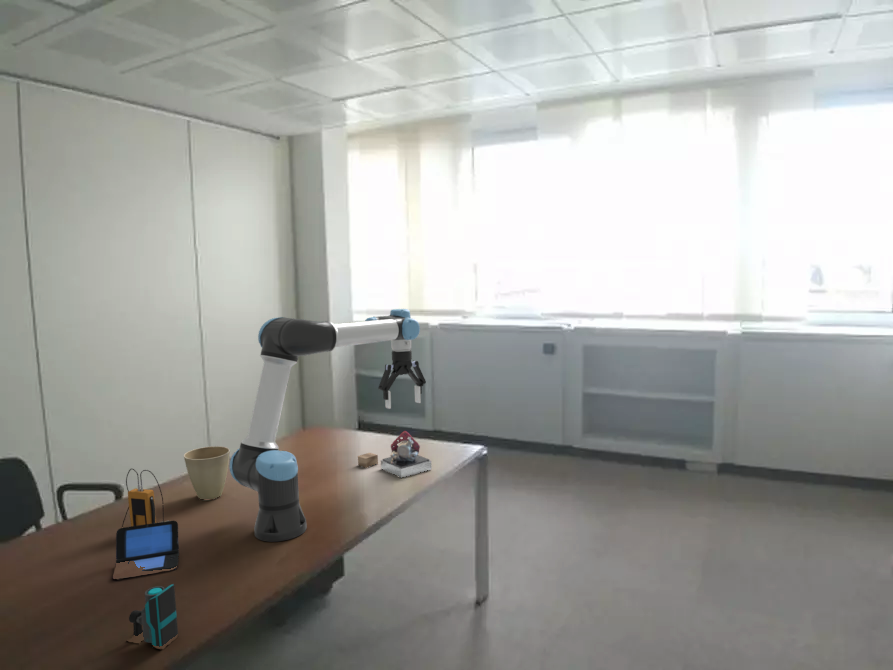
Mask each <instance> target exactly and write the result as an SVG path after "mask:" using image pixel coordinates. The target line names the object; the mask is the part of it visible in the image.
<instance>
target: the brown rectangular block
mask: <svg viewBox="0 0 893 670" xmlns="http://www.w3.org/2000/svg"><path fill="white" fill-rule="evenodd" d="M378 457H379V456H378V454H376V453H372V452H366V453H364V454H360V455H357V464H358V465H360V466H359V467H361V466H363V467H362V468H364V467H365V469H368V468H370V467H369V466H371V467H373V466H372V465H374V466H376V465H375V464H377V465H379V458H378ZM358 465H357V466H358ZM367 467H368V468H367Z"/></svg>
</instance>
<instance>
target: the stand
mask: <svg viewBox="0 0 893 670" xmlns="http://www.w3.org/2000/svg"><path fill="white" fill-rule="evenodd" d="M391 461H392V457H391V456H389V457H385V458H382V459H381V460H380V469H381V470H382V469H383V471H384V470H385V471H384V472H387V471H388V472H387V473H389V472H390V473H389V474H391V473H392V474H391V475H393V474H395V475H397V476H396V477H398V476H399V477H398V478H400V477H401V478H400V479H403V478H402V477H404V478H407V477H410V475H411V476H414V475H418V474H421V473H425V472H427V470H428V471H431V469H432V467H433V465H432V460H430V459H429V458H426V457H425V456H424V457H423V456H421V455H419V454H418V455H417V457H416V458H415V460H414V461H399V462H397V461H394V463H391ZM424 471H425V472H424ZM420 472H421V473H420ZM395 475H394V476H395ZM406 476H407V477H406Z"/></svg>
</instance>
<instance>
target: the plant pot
mask: <svg viewBox="0 0 893 670" xmlns="http://www.w3.org/2000/svg"><path fill="white" fill-rule="evenodd" d="M230 452H231V450H230V448H228V447H226V446H220V445H219V446H218V445H217V446H216V445H215V446H214V445H213V446H205V447H204V446H203V447H197V448H194V449H192V450H188V451H187V452H185V453H184V454H183V460H184V463H185V467H186V470H187V474H188V478H189V480H190V482H191V485H192V487H193V489H194V492H195V493H196V496H197V497H198V499H199V498H200V499H213V500H215V499H214V498H216V499H218V498H217V497H219V496H220V497H221V496H222V494H223V490H224V487H225V483H226V480H227V476H228V471H229V470H228V469H229V464H230ZM220 497H219V498H220ZM200 499H199V500H200Z"/></svg>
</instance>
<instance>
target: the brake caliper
mask: <svg viewBox="0 0 893 670" xmlns="http://www.w3.org/2000/svg"><path fill="white" fill-rule="evenodd" d="M420 448H421V445H420V444H419V443H418V442H417V441H416V439H415V438H414V437H412V435H411V434H410V433H409V431H406V430H404V431H402V432H401V433H400V434H399V436H398V437H396V439H394V440H393V442H392V443H391V444H390V450H391V454H390V455H389V457H392V461H391V463H394V461H397V462H399V461H414V460H415V458H416V457H417V455H419V453H420Z"/></svg>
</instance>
